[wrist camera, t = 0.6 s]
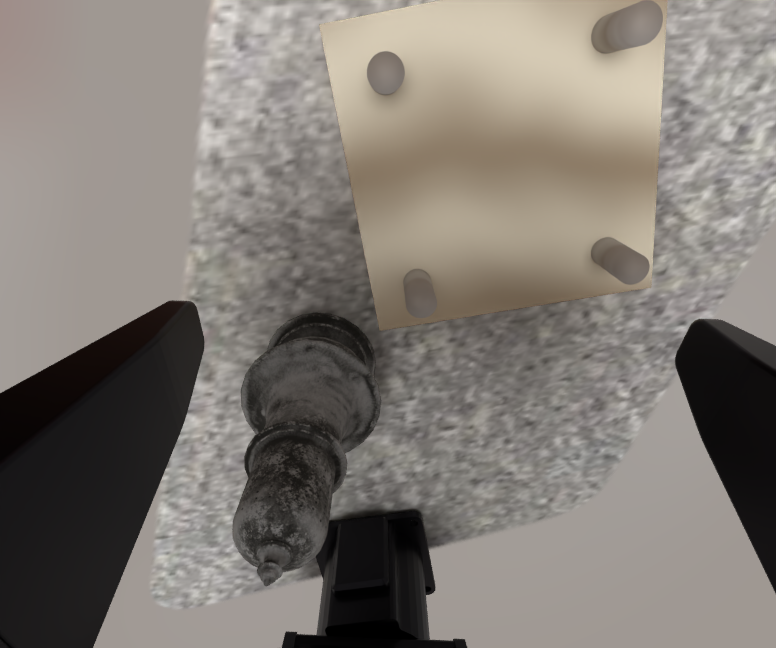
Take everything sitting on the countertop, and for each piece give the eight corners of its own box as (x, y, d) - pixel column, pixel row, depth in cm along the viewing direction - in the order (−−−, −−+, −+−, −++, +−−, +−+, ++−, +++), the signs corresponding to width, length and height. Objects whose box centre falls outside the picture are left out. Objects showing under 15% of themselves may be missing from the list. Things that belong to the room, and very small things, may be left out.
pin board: (640, 279, 22) (683, 309, 19) (379, 321, 23) (379, 357, 20) (654, -38, 17) (716, -71, 14) (322, 28, 18) (309, 11, 15)
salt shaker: (403, 340, 23) (419, 551, 12) (348, 429, 25) (321, 677, 14) (289, 285, 22) (195, 465, 11) (242, 384, 24) (124, 616, 13)
